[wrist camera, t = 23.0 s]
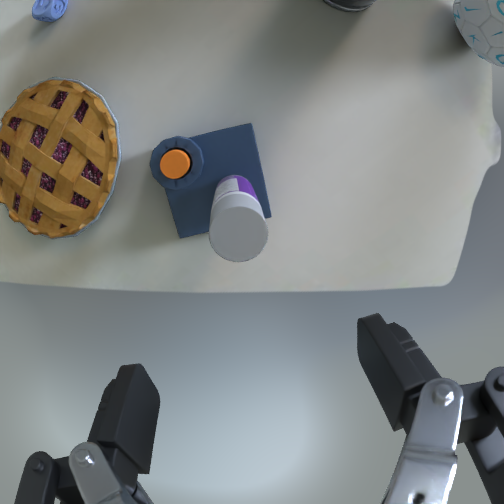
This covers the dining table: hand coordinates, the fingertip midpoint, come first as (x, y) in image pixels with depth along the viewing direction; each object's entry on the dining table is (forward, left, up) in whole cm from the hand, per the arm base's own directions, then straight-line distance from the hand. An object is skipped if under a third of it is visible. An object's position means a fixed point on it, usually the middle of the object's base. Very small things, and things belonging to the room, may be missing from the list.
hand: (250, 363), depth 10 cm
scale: (-2, -2, -30) cm, 30 cm away
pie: (-12, -22, -30) cm, 39 cm away
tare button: (-5, -5, -27) cm, 28 cm away
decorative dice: (-35, -19, -30) cm, 50 cm away
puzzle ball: (-22, +45, -30) cm, 58 cm away
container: (0, 0, -29) cm, 29 cm away
